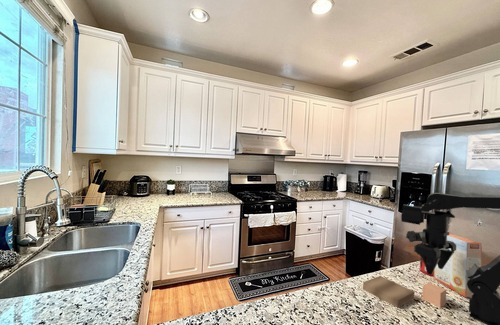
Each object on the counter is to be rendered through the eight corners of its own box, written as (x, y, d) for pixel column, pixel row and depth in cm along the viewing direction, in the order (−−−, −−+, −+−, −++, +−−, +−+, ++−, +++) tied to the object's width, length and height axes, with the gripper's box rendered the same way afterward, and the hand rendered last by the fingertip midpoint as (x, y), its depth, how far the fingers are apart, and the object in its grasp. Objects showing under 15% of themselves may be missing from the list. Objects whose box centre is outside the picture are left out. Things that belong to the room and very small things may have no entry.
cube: (445, 303, 75) (446, 289, 75) (439, 307, 72) (440, 293, 72) (428, 295, 79) (428, 282, 79) (422, 299, 76) (422, 285, 76)
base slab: (414, 299, 76) (414, 291, 77) (397, 309, 70) (397, 300, 71) (379, 283, 87) (380, 275, 87) (362, 290, 81) (363, 282, 81)
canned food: (447, 279, 92) (447, 254, 93) (426, 276, 94) (427, 251, 94) (435, 270, 100) (436, 247, 100) (416, 268, 102) (417, 245, 102)
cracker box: (481, 299, 78) (483, 243, 79) (464, 298, 78) (466, 242, 79) (446, 279, 92) (448, 231, 93) (432, 278, 92) (434, 230, 93)
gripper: (421, 220, 88) (420, 257, 87) (398, 224, 78) (397, 266, 78) (457, 227, 78) (456, 269, 78) (436, 233, 69) (434, 281, 68)
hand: (435, 271), depth 76 cm, fingers open, 9 cm apart
